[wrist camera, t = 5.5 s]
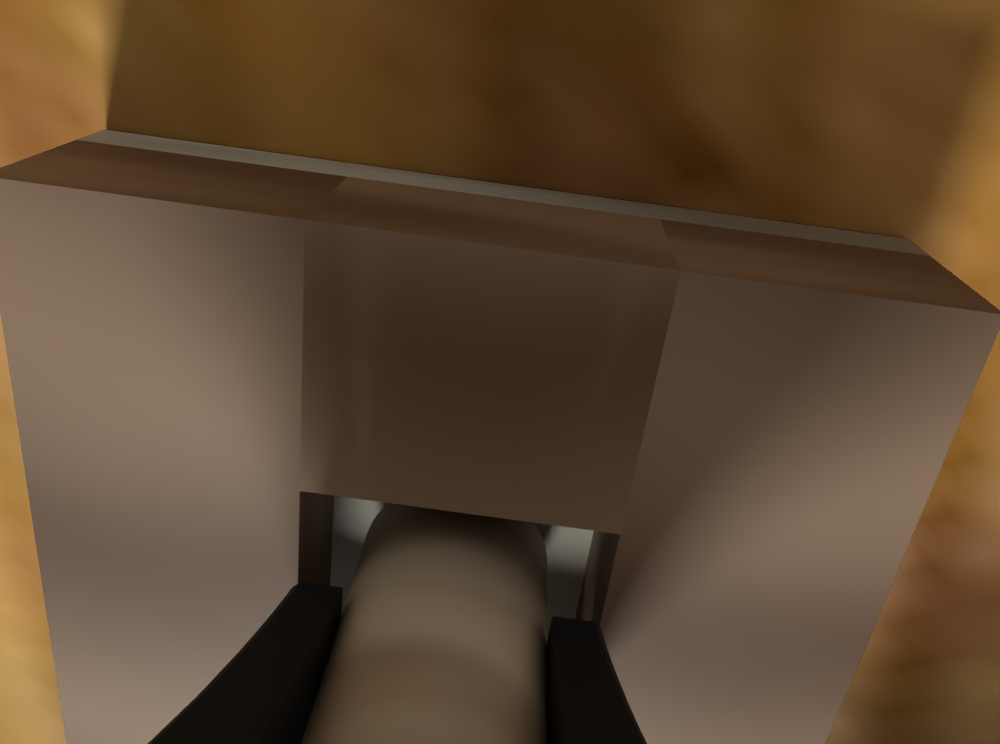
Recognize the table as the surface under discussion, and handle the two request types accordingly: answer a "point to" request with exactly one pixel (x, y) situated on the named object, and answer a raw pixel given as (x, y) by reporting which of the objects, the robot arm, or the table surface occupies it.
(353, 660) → the dowel
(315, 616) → the robot arm
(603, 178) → the table surface
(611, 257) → the socket block
